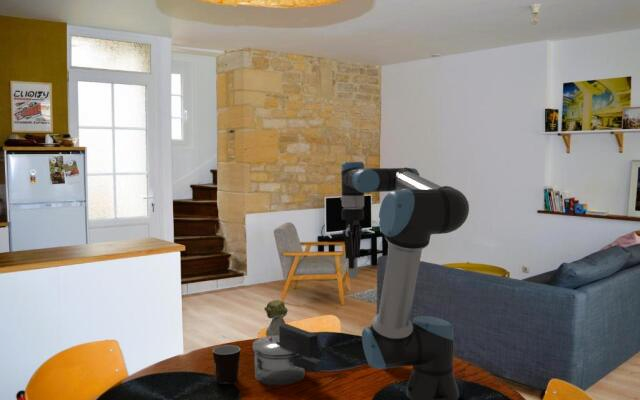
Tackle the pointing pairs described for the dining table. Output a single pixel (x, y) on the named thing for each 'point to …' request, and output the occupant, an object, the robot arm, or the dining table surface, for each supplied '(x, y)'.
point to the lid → (288, 343)
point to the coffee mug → (226, 363)
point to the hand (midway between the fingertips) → (352, 277)
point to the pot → (284, 368)
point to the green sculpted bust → (275, 316)
